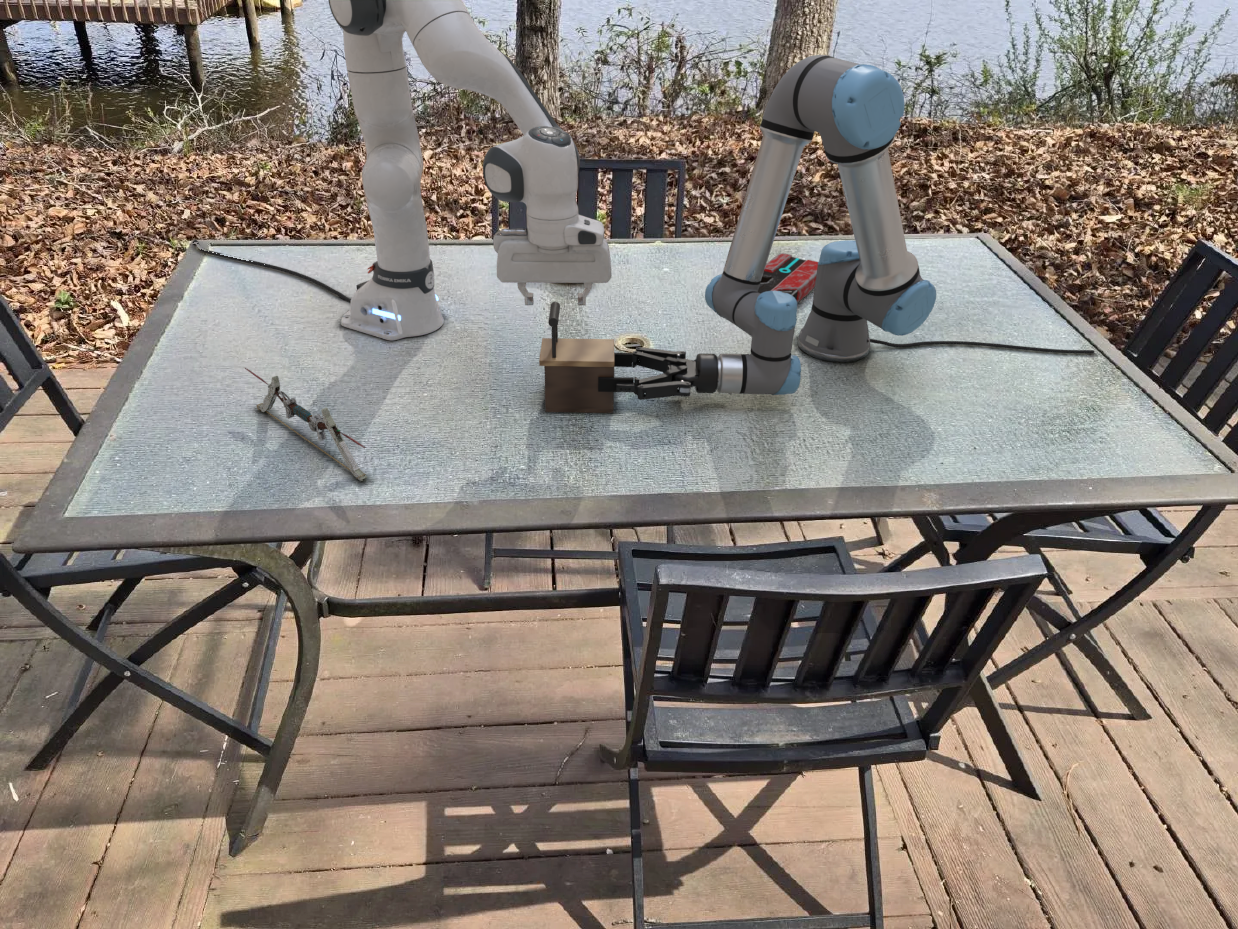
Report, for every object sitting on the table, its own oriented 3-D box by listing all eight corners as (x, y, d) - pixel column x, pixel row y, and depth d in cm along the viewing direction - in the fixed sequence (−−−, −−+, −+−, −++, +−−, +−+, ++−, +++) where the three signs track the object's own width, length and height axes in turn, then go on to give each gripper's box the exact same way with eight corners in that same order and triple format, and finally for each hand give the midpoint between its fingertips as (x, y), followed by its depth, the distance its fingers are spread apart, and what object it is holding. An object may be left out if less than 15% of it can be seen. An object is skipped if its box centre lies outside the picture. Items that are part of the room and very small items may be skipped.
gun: (708, 284, 207) (784, 305, 199) (760, 245, 229) (831, 262, 221) (706, 302, 209) (781, 323, 201) (758, 261, 231) (828, 278, 223)
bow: (377, 484, 144) (369, 432, 138) (368, 488, 143) (359, 436, 137) (258, 401, 165) (247, 353, 160) (249, 404, 164) (237, 356, 158)
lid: (539, 366, 159) (537, 320, 154) (542, 343, 167) (541, 299, 162) (614, 367, 160) (615, 321, 155) (614, 344, 168) (615, 300, 162)
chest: (545, 412, 165) (544, 366, 159) (548, 388, 173) (547, 343, 167) (613, 413, 165) (614, 367, 160) (613, 388, 173) (614, 344, 168)
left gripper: (490, 234, 147) (495, 311, 155) (611, 235, 148) (611, 311, 155) (494, 222, 152) (499, 296, 160) (611, 223, 153) (611, 297, 160)
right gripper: (721, 420, 159) (597, 418, 158) (709, 364, 177) (598, 362, 177) (725, 384, 155) (598, 381, 154) (712, 330, 173) (599, 328, 173)
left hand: (555, 304), depth 158 cm, fingers open, 8 cm apart
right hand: (598, 371), depth 165 cm, fingers closed on chest, 9 cm apart
